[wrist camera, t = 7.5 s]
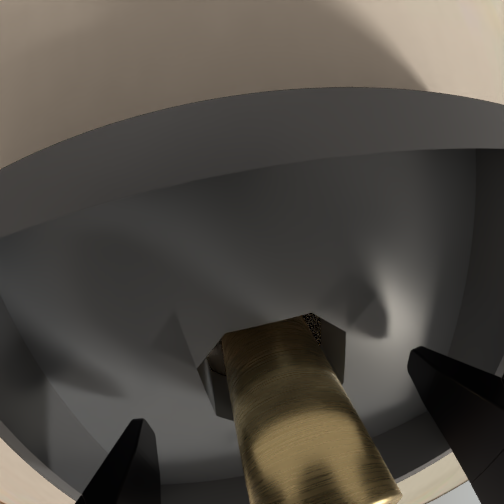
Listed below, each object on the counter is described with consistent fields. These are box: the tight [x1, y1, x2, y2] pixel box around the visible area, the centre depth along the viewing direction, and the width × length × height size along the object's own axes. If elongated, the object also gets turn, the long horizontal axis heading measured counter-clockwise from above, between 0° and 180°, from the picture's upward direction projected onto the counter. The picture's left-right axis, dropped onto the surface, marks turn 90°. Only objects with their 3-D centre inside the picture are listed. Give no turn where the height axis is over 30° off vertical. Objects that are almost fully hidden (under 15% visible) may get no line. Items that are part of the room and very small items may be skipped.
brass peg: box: [221, 315, 402, 504], centre depth 8 cm, size 3×3×8 cm
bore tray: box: [0, 87, 504, 504], centre depth 9 cm, size 18×16×6 cm
